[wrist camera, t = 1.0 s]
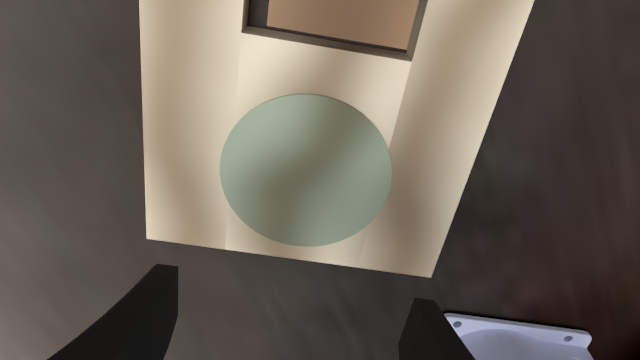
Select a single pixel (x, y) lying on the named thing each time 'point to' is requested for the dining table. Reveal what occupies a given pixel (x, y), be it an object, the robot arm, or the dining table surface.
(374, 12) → the block
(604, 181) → the dining table surface
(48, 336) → the dining table surface
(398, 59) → the board
